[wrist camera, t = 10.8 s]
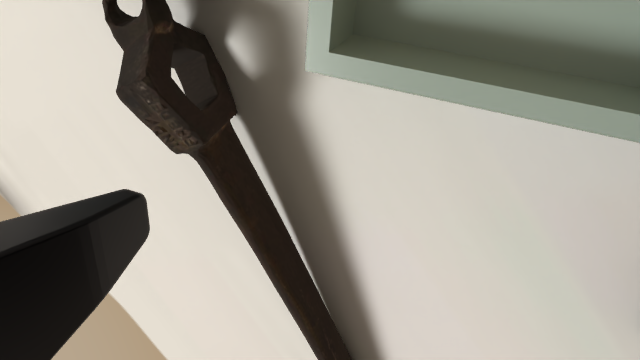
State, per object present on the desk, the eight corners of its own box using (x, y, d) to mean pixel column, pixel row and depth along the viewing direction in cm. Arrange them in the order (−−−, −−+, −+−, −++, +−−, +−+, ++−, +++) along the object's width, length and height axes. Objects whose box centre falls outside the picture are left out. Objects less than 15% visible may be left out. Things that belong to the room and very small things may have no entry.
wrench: (342, 433, 35) (95, -3, 23) (415, 435, 33) (183, -46, 21) (318, 513, 31) (3, 32, 19) (400, 522, 29) (99, -17, 17)
